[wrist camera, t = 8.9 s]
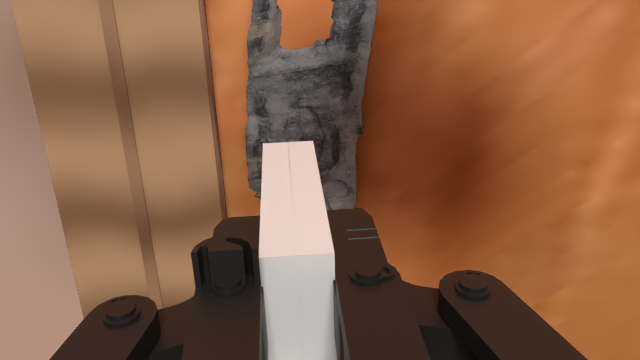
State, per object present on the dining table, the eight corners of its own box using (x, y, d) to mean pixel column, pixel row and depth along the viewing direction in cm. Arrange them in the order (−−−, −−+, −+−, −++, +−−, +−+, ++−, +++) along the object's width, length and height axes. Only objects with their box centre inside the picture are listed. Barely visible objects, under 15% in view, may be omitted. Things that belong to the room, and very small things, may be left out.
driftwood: (351, 253, 35) (356, 272, 33) (237, 250, 34) (235, 268, 33) (396, -136, 27) (406, -142, 26) (250, -151, 27) (249, -158, 25)
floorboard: (234, 284, 35) (231, 310, 32) (96, 294, 34) (83, 320, 32) (184, -190, 25) (175, -201, 23) (-8, -186, 25) (-36, -197, 22)
